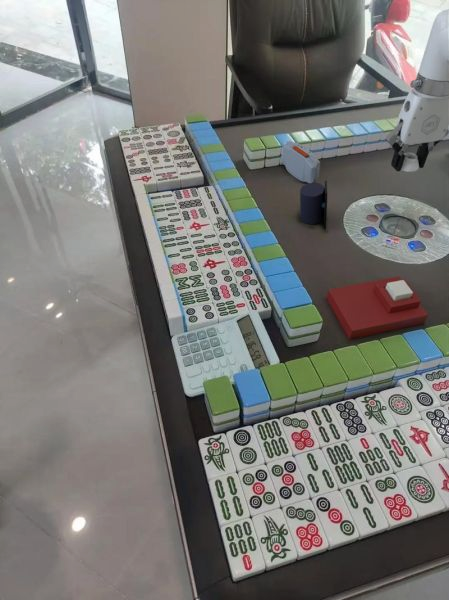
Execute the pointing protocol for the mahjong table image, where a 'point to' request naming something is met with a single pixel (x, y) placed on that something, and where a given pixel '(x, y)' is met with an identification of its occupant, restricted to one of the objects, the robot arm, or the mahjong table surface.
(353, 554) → the mahjong table surface
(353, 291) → the red rectangular stepped block
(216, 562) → the mahjong table surface
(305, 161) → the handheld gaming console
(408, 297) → the white square block
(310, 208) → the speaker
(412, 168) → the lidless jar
